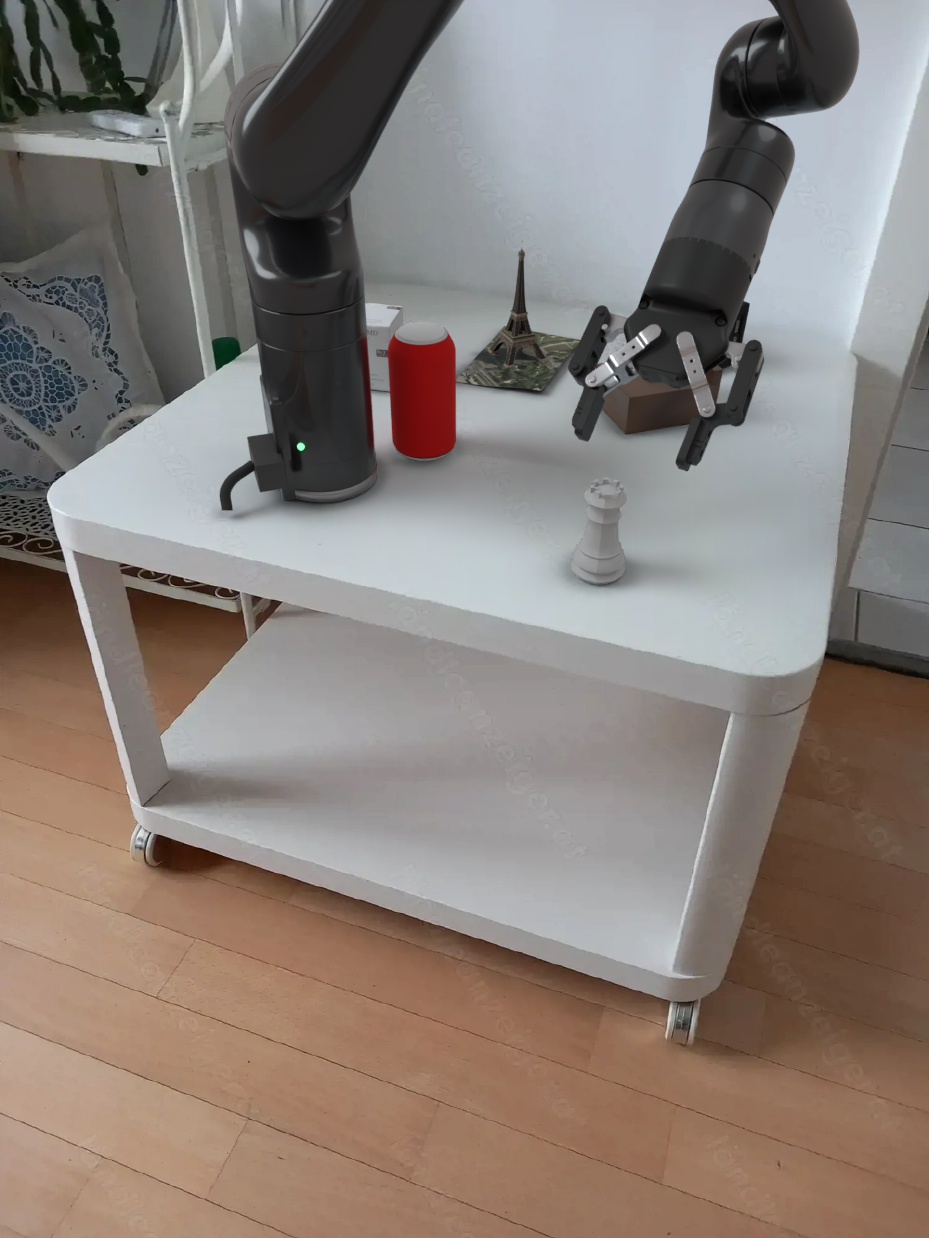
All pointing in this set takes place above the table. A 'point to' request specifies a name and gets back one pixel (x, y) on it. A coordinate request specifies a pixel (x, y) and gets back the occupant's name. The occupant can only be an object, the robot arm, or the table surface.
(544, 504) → the table surface
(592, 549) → the rook chess piece
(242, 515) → the table surface
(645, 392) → the wooden stepped block
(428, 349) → the beverage can
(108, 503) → the table surface
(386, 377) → the product carton
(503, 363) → the eiffel tower figurine
